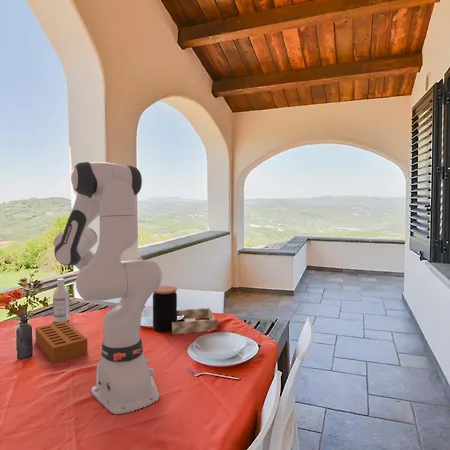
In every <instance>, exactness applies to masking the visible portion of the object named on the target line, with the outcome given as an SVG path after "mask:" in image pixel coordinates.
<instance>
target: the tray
mask: <svg viewBox="0 0 450 450" xmlns="http://www.w3.org/2000/svg"><path fill="white" fill-rule="evenodd" d="M182 315H184V319H187V318H195V319H197V318H206V317H208V319H209V320H208V319H197V320H196V321H177V322H172V330H171V334H172V335H181V334H180V333H184V334H190V333H189V332H196V333H203V332H202V331H208V330H216V331H217V318H216V317H215V315H214V313H213V312H212V311H211V308H210V307H204V308H187V309H177V316H182ZM184 319H183V320H184ZM208 332H209V331H208Z"/></svg>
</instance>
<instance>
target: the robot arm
mask: <svg viewBox="0 0 450 450" xmlns="http://www.w3.org/2000/svg"><path fill="white" fill-rule="evenodd" d="M70 181H71V184H72V188H73V190H74V191H75V192H76V193H77V194H76V197H75V201H74V203H73V206H72V208H71V209H72V210H71V211H70V214H69V217H68V218H67V221H66V224H65V228H64V229H63V231H62V232H60V233H59V234H58V235H57V236H56V237H55V238H54V240H53V246H54V250H53V251H54V257H55V259H56V260H57V262H58V263H59V264H61V265H62V266H63V265H64V266H69V267H71V266H72V267H73V266H75V268H76V269H78V270H79V272H78V274H77V276H76V279H75V289H76V292H77V293H78V295H79V296H80V298H81V299H83V300H85V301H91V302H92V301H93V302H94V301H95V302H101V301H107V300H108V301H109V300H114V299H119V302H118V303H117V304H116V305H115V306H114V307H112V309H110V310H108V311H107V312H106V314H105V315H104V317H103V320H102V342H101V348H100V349H101V358H100V360H99V361H98V363H97V364H96V377H95V378H96V379H95V380H96V381H95V385H94V386H93V387H91V389H90V394H91V395H92V396H93V397H94V399H96V400H97V401H98V402H99V403H100V404H101V405H103V407H104V408H105V409H107V410H108V411H109V412H110V413H111V414H112V413H113V415H122V414H127V413H128V414H129V413H132V412H135V411H134V410H136V411H138V410H137V409H139V410H141V409H140V408H142V409H143V407H144V408H147V407H149V406H151V405H153V404H155V403H156V402H157V401H158V400H159V399H160V398H159V397H160V393H159V390H158V388H157V385H156V383H155V380H154V375H155V371H154V368H153V367H151V368H150V367H148V365H149V363H150V362H149V359H146V357H145V352H144V350H143V349H144V348H143V342H142V336H141V321H142V313H143V310H144V308H145V305H146V303H147V301H148V300H149V298H150V297H151V296H152V295H153V294H154V291H155V290H156V289H158V287H159V286H160V285H161V284H162V279H163V273H162V270H161V267H160V266H159V264H158V263H157V262H156V261H153V260H148V259H134V260H133V259H132V260H124V261H122V260H121V258H122V255H123V253H125V251H127V250H128V249H130V248H132V247H133V246H134V245H136V243H137V242H138V238H139V235H138V234H139V232H138V231H139V229H138V228H139V227H138V212H137V203H136V197H135V196H137V195H138V194H139V192H140V191H141V189H142V186H143V185H142V184H143V182H142V181H143V178H142V174H141V172H140V170H139V168H137V167H135V166H132V165H128V164H126V165H125V164H117V163H110V162H107V161H106V162H103V161H102V162H101V161H100V162H99V161H98V162H97V161H95V162H89V161H81V162H76V164H75V165H74V166H73V169H72V172H71V176H70ZM98 217H99V240H98V235H97V233H96V232H95V231H94V230H93V229H92V228H91V227H90V225H91V223H93V222H94V220H95V219H97V218H98ZM97 242H98V245H97V247H96V248H97V249H96V252H93V251H91V250H92V248H94V246H96V244H97ZM155 401H156V402H155ZM154 402H155V403H154ZM152 403H153V404H152ZM150 404H151V405H150ZM148 405H149V406H148ZM146 406H147V407H146ZM131 411H132V412H131Z"/></svg>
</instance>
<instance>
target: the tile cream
mask: <svg viewBox="0 0 450 450" xmlns="http://www.w3.org/2000/svg"><path fill="white" fill-rule="evenodd" d="M184 321H197V320H196V319H195V318H187V319H184Z"/></svg>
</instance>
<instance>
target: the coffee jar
mask: <svg viewBox="0 0 450 450" xmlns="http://www.w3.org/2000/svg"><path fill="white" fill-rule="evenodd" d="M177 289H178V288H177V287H176V286H171V285H161V286H159V287H158V289H156V290H155V291H154V292H153V293H152V327H153V329H154V330H155V331H157V332H163V333H164V332H172V322H178V321H177V310H178V303H177V302H178V295H177Z"/></svg>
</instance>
